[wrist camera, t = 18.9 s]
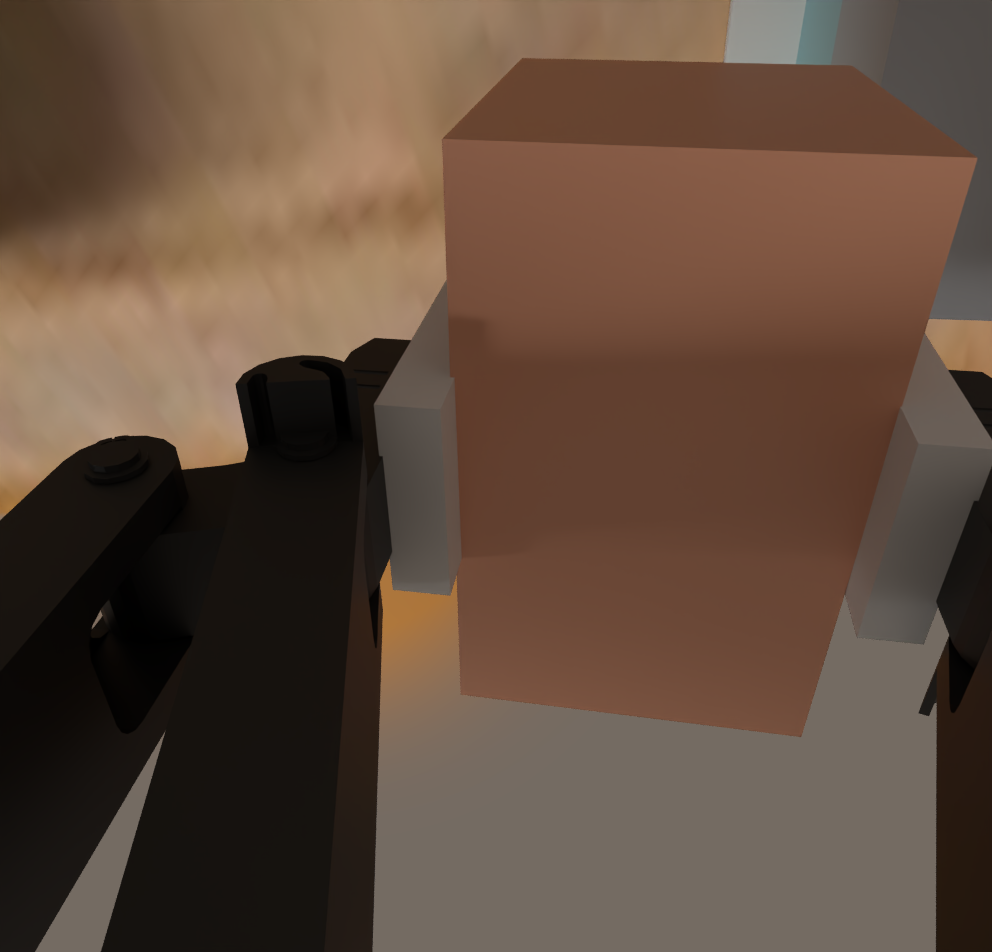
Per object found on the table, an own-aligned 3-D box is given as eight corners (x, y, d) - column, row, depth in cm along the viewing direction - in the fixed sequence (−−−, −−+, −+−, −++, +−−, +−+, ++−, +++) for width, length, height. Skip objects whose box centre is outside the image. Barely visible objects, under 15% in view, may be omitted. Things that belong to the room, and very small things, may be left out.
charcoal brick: (797, 245, 29) (831, 315, 24) (847, -27, 24) (901, -10, 19) (952, 249, 28) (1019, 321, 23) (1032, -30, 24) (1137, -14, 19)
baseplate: (701, 239, 35) (702, 243, 35) (743, -106, 29) (745, -106, 28) (951, 245, 34) (955, 250, 34) (1055, -113, 28) (1063, -114, 27)
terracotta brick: (515, 478, 18) (460, 694, 13) (521, 58, 13) (441, 139, 8) (759, 500, 17) (800, 736, 12) (851, 65, 13) (978, 158, 8)
